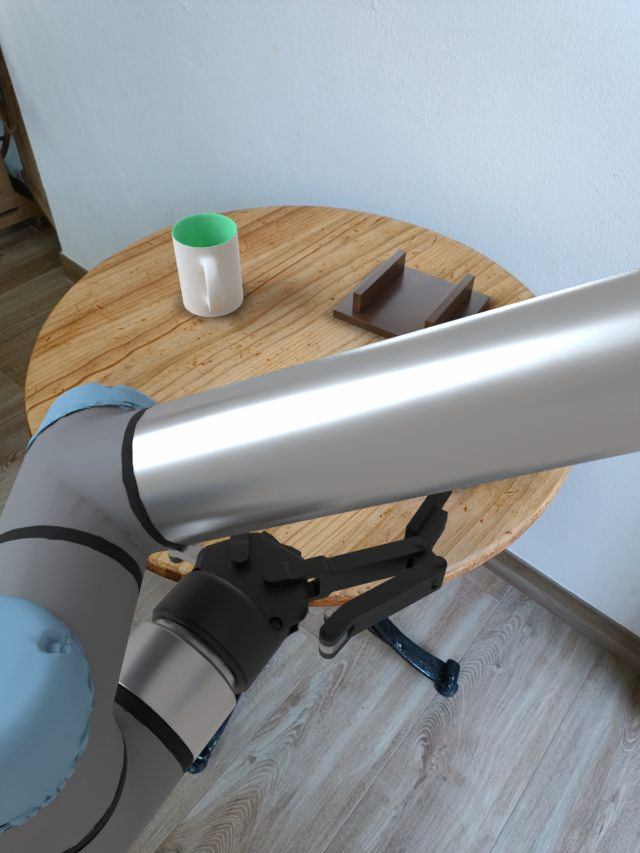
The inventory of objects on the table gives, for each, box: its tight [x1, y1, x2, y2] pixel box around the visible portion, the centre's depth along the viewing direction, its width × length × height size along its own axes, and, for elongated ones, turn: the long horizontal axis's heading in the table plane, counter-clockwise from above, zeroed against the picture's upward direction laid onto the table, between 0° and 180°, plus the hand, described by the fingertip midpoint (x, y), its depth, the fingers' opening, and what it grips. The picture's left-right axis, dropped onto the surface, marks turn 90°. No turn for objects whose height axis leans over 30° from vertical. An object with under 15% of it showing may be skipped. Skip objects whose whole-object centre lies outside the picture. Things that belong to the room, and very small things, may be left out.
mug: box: [171, 212, 244, 318], centre depth 88 cm, size 12×8×10 cm, turn 16°
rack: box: [332, 249, 491, 340], centre depth 90 cm, size 16×14×4 cm
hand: (371, 440), depth 54 cm, fingers open, 13 cm apart
